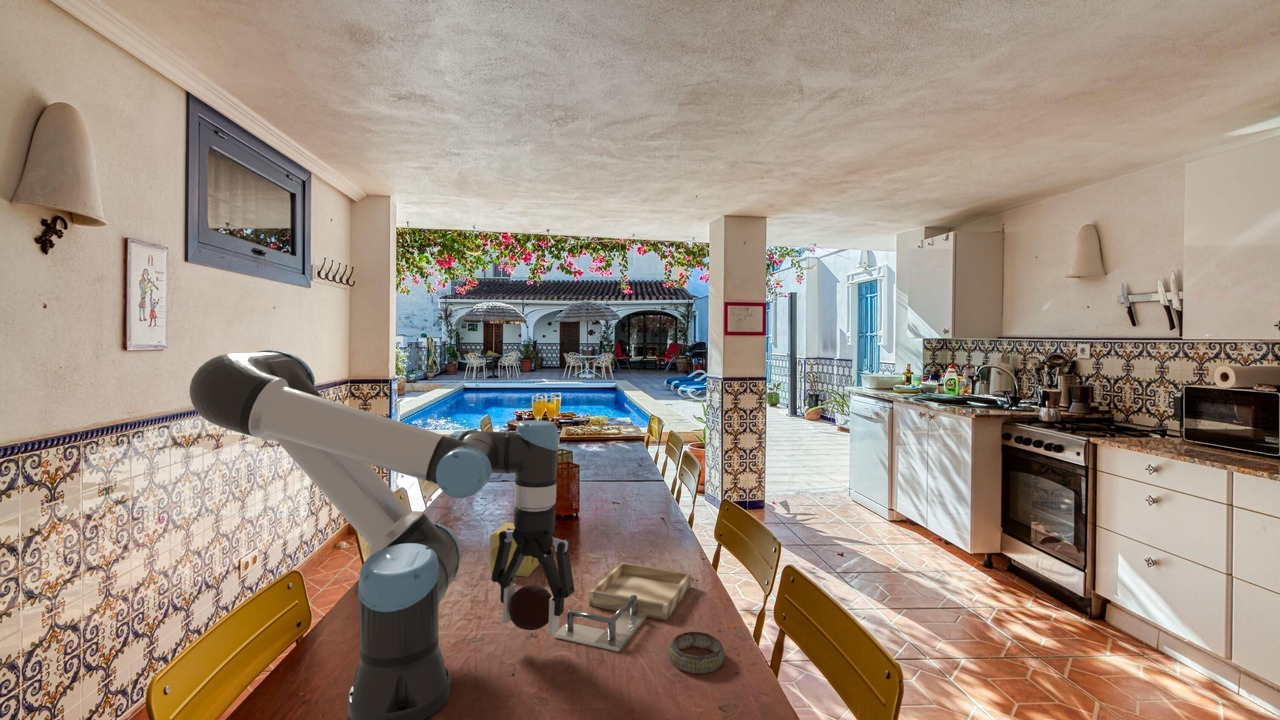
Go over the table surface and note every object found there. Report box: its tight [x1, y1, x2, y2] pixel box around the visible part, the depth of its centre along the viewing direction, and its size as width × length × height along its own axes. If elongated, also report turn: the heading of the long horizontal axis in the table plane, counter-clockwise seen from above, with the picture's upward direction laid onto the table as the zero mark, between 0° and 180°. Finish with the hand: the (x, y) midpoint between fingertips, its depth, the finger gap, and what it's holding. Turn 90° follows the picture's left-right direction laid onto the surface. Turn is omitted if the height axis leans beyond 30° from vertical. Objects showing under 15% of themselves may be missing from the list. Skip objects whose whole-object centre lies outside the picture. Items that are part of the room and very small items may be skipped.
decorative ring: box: [668, 631, 726, 675], centre depth 107 cm, size 10×3×10 cm
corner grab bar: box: [554, 595, 648, 653], centre depth 120 cm, size 16×14×5 cm
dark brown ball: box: [509, 584, 553, 631], centre depth 109 cm, size 8×9×8 cm
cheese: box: [489, 522, 541, 578], centre depth 149 cm, size 10×11×10 cm
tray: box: [588, 561, 692, 621], centre depth 133 cm, size 18×18×3 cm
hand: (530, 625), depth 110 cm, fingers closed on dark brown ball, 9 cm apart
